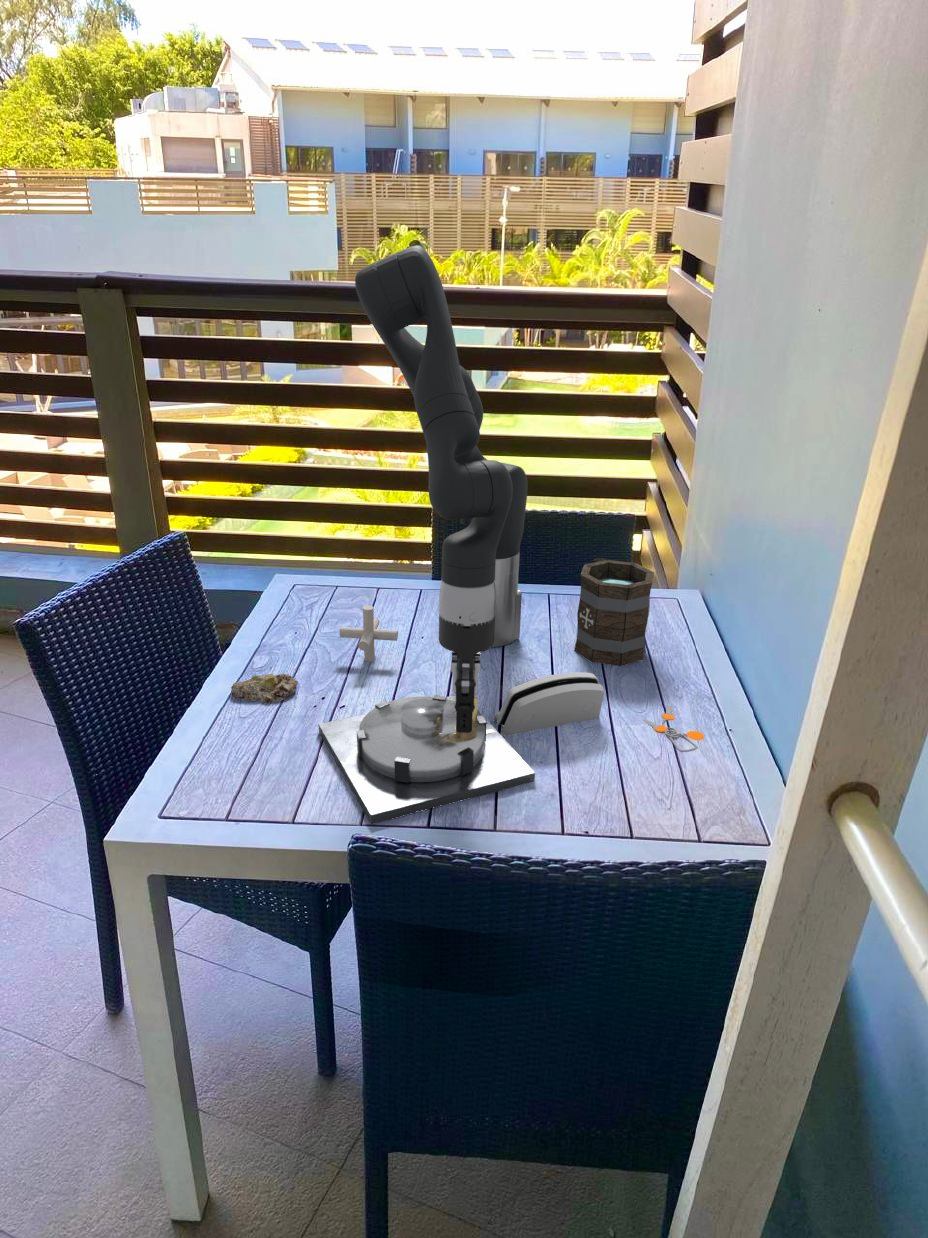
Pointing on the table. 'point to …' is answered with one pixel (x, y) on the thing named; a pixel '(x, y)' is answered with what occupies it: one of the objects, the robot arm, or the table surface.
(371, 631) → the pipe connector
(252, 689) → the mineral rock
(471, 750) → the silver disc
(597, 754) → the table surface
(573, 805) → the table surface
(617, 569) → the mug
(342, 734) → the base plate
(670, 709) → the key chain
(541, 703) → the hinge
